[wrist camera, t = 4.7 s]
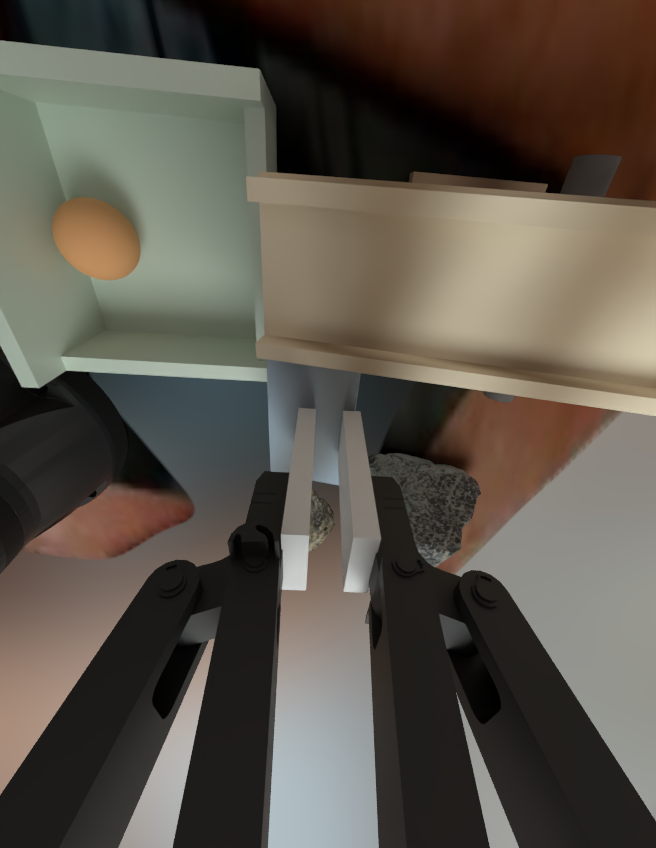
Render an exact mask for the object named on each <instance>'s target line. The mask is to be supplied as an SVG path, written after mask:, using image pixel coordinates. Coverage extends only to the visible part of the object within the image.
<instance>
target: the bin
mask: <svg viewBox="0 0 656 848" xmlns="http://www.w3.org/2000/svg"><path fill="white" fill-rule="evenodd" d="M258 171H262V172H275V173H277V136H276V105H275V103H274V100H273V98H272V96H271V94H270V91H269V89H268V87H267V85H266V82H265V80H264V78H263V75H262V73H261V71H260V69H256V68H247V67H238V66H229V65H220V64H211V63H202V62H192V61H183V60H174V59H165V58H156V57H147V56H138V55H128V54H119V53H110V52H101V51H92V50H83V49H74V48H64V47H55V46H46V45H37V44H28V43H19V42H10V41H0V346H1V348H2V350H3V352H4V354H5V355H6V357H7V359H8V361H9V363H10V365H11V367H12V369H13V371H14V373H15V375H16V377H17V379H18V381H19V382H20V384H21V386H22V387H27V388H40V387H42V386H43V385H45V384H47V383H48V382H50V381H51V380H53V379H54V378H56V377H57V376H59V375H60V374H62V373H63V372H65V371H83V372H101V373H102V372H103V373H119V374H138V375H155V376H174V377H193V378H210V379H228V380H246V381H247V380H248V381H264V382H267V361H266V359H262V358H256V345H255V343H256V342H257V341H258V340H259V339H260V338H261V337H262V336H263V335H265V332H264V306H263V281H262V256H261V230H260V205H259V202H249V201H247V187H246V176H249V177H258ZM78 197H89V198H95V199H98V200H101V201H104V202H106V203H108V204H110V205H111V206H113V207H115V208H116V209H117V210H119V211H120V212H121V213H122V214H123V215H124V216H125V217H126V218H127V219H128V220H129V221H130V223H131V224H132V226H133V227H134V229H135V231H136V233H137V236H138V238H139V242H140V249H141V252H140V259H139V262H138V264H137V266H136V268H135V269H134V270H133V272H131V273H130V274H129V275H127V276H126V277H123V278H121V279H117V280H101V279H96V278H93V277H90V276H88V275H86V274H84V273H82V272H80V271H79V270H77V269H76V268H74V267H73V266H72V265H71V264H70V263H69V262H68V261H67V260H66V259H65V258H64V257H63V256H62V254H61V253H60V251H59V250H58V248H57V246H56V244H55V241H54V238H53V234H52V220H53V216H54V213H55V212H56V210H57V209H58V207H59V206H60V205H61V204H63V203H64V202H66V201H67V200H70V199H73V198H78Z"/></svg>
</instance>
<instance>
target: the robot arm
mask: <svg viewBox="0 0 656 848" xmlns="http://www.w3.org/2000/svg"><path fill="white" fill-rule="evenodd" d="M315 419H316V409H309V408H299V410H298V417H297V424H296V431H295V438H294V445H293V452H292V459H291V466H290V473H289V472H269V471H268V472H267V471H265V472H264V473H263V474H262V475H261V476H260V477H259V478H258V480H257V481H256V484H255V488H254V493H253V496H252V500H251V504H250V507H249V511H248V515H247V519H246V523H245V524H243V525H241V526H239V527H238V528H237V529H236V530H235V531H234V532H233V533H231V536H230V538H229V540H228V546H229V553H230V555H229V556H228V557H226V558H224V559H222V560H220V561H217V562H214V563H211V564H207V565H202V566H199V567H196V566H195V565H194V564H193V563H191V562H189V561H187V560H175V561H171V562H168V563H165V564H164V565H162V566H161V567H159V568H157V569H156V570H155V571H154V572H153V573H152V574H151V575H150V576H149V577H148V579H147V580H146V582H145V583H144V585H143V586H142V588H141V589H140V591H139V592H138V594H137V595H136V596H135V598H134V599H133V601H132V602H131V604H130V605H129V607H128V608H127V610H126V611H125V613H124V614H123V616H122V617H121V618H120V620H119V621H118V623H117V624H116V626H115V627H114V629H113V630H112V632H111V633H110V635H109V636H108V638H107V639H106V641H105V642H104V643H103V645H102V646H101V648H100V650H99V651H98V652H97V654H96V655H95V657H94V658H93V660H92V661H91V663H90V664H89V666H88V667H87V668H86V670H85V671H84V673H83V674H82V676H81V677H80V679H79V680H78V682H77V683H76V685H75V686H74V688H73V689H72V691H71V692H70V693H69V695H68V696H67V698H66V699H65V701H64V702H63V704H62V705H61V707H60V708H59V710H58V711H57V713H56V714H55V716H54V717H53V718H52V720H51V721H50V723H49V724H48V726H47V727H46V729H45V730H44V732H43V733H42V735H41V736H40V738H39V739H38V741H37V742H36V743H35V745H34V746H33V748H32V750H31V751H30V753H29V754H28V755H27V757H26V758H25V760H24V761H23V763H22V764H21V766H20V767H19V768H18V770H17V771H16V773H15V774H14V776H13V777H12V779H11V780H10V782H9V783H8V785H7V786H6V788H5V789H4V791H3V792H2V794H1V795H0V848H118V847H119V844H120V842H121V840H122V838H123V835H124V833H125V831H126V828H127V826H128V824H129V822H130V819H131V817H132V815H133V812H134V810H135V808H136V806H137V803H138V801H139V799H140V796H141V794H142V792H143V790H144V787H145V785H146V783H147V780H148V778H149V776H150V774H151V771H152V769H153V767H154V765H155V762H156V760H157V758H158V755H159V753H160V751H161V749H162V746H163V744H164V742H165V739H166V737H167V735H168V732H169V730H170V728H171V726H172V723H173V721H174V719H175V717H176V714H177V712H178V709H179V707H180V705H181V703H182V701H183V698H184V696H185V694H186V691H187V689H188V687H189V684H190V682H191V680H192V678H193V675H194V673H195V671H196V669H197V666H198V664H199V662H200V660H201V657H202V655H203V653H204V650H205V648H206V646H207V644H208V641H209V640H210V639H214V638H215V641H214V646H213V651H212V656H211V661H210V666H209V671H208V676H207V681H206V686H205V690H204V695H203V700H202V706H201V711H200V715H199V720H198V725H197V730H196V735H195V740H194V745H193V750H192V755H191V760H190V765H189V770H188V774H187V779H186V785H185V789H184V794H183V799H182V804H181V809H180V814H179V819H178V824H177V829H176V834H175V839H174V844H173V848H268V832H269V813H270V795H271V776H272V759H273V740H274V739H273V738H274V722H275V704H276V685H277V667H278V647H279V630H280V612H281V603H280V602H281V592H282V590H306V580H307V563H308V547H309V530H310V512H311V493H312V475H313V456H314V438H315ZM127 453H128V438H127V433H126V429H125V426H124V424H123V421H122V419H121V417H120V415H119V413H118V411H117V409H116V408H115V406H114V405H113V403H112V401H111V400H110V399H109V397H108V396H107V395H106V394H105V393H104V391H103V390H102V389H101V388H100V387H99V386H98V385H97V384H96V383H95V382H94V381H93V380H92V379H91V378H90V377H89V376H88V375H87V374H86V373H85V372H83V371H65V372H63V373H62V374H60V375H59V376H57V377H56V378H54V379H53V380H51V381H50V382H48V383H47V384H45V385H43V386H42V387H40V388H27V387H22V386H21V384H20V382H19V381H18V379H17V377H16V375H15V373H14V371H13V369H12V367H11V365H10V363H9V361H8V359H7V357H6V355H5V354H4V352H3V350H2V348H1V346H0V574H1V573H2V572H3V571H4V569H5V568H6V567H7V566H8V565H9V564H10V562H11V561H12V560H13V559H14V558H15V557H16V556H17V554H18V553H19V552H20V551H21V550H22V549H23V548H24V547H25V546H26V545H27V544H28V543H29V542H30V541H31V540H33V539H34V538H36V537H37V536H39V535H40V534H42V533H43V532H45V531H46V530H48V529H49V528H51V527H52V526H54V525H55V524H57V523H58V522H60V521H61V520H63V519H64V518H65V517H67V516H68V515H69V514H71V513H72V512H73V511H74V510H76V509H77V508H78V507H80V506H83V505H85V504H87V503H88V502H90V501H92V500H93V499H95V498H96V497H97V496H99V495H100V494H101V493H102V492H103V491H104V490H105V489H106V488H107V487H108V486H109V485H110V483H111V482H112V481H113V479H114V478H115V477H116V475H117V474H118V473H119V471H120V470H121V469H122V467H123V465H124V463H125V461H126V458H127ZM338 474H339V497H340V520H341V542H342V543H341V544H342V568H343V591H344V592H367V591H368V588H369V587H370V595H371V601H370V604H369V608H368V611H367V615H366V621H365V623H367V624H369V633H370V655H371V678H372V701H373V723H374V747H375V768H376V769H375V770H376V792H377V814H378V838H379V848H490V846H489V842H488V837H487V833H486V828H485V823H484V819H483V815H482V810H481V805H480V800H479V796H478V791H477V787H476V782H475V777H474V773H473V768H472V764H471V759H470V754H469V750H468V745H467V741H466V736H465V732H464V727H463V722H462V718H461V713H460V709H459V704H458V699H457V695H458V698H459V700H460V703H461V705H462V708H463V710H464V712H465V715H466V718H467V720H468V722H469V725H470V727H471V730H472V732H473V735H474V737H475V740H476V742H477V745H478V747H479V749H480V752H481V754H482V757H483V759H484V762H485V764H486V767H487V769H488V772H489V774H490V777H491V779H492V782H493V784H494V787H495V789H496V791H497V794H498V796H499V799H500V801H501V804H502V806H503V809H504V811H505V814H506V816H507V819H508V821H509V823H510V826H511V828H512V831H513V833H514V836H515V838H516V841H517V843H518V846H519V848H656V821H655V819H654V818H653V816H652V815H651V813H650V812H649V810H648V809H647V807H646V805H645V804H644V802H643V801H642V799H641V798H640V796H639V795H638V793H637V791H636V790H635V788H634V787H633V785H632V784H631V782H630V781H629V779H628V778H627V776H626V774H625V773H624V772H623V770H622V768H621V767H620V765H619V764H618V762H617V760H616V759H615V757H614V756H613V754H612V753H611V751H610V749H609V748H608V746H607V745H606V743H605V742H604V740H603V739H602V737H601V735H600V734H599V732H598V731H597V729H596V728H595V726H594V725H593V723H592V722H591V720H590V718H589V717H588V715H587V714H586V712H585V711H584V709H583V708H582V706H581V704H580V703H579V701H578V700H577V698H576V697H575V695H574V694H573V692H572V690H571V689H570V687H569V686H568V684H567V683H566V681H565V680H564V678H563V677H562V675H561V673H560V672H559V670H558V669H557V667H556V666H555V664H554V662H553V661H552V659H551V658H550V656H549V655H548V653H547V652H546V650H545V649H544V647H543V646H542V644H541V642H540V641H539V639H538V638H537V636H536V635H535V633H534V632H533V630H532V628H531V627H530V625H529V624H528V622H527V620H526V619H525V617H524V616H523V614H522V613H521V611H520V610H519V608H518V606H517V605H516V603H515V602H514V600H513V599H512V597H511V596H510V594H509V593H508V591H507V590H506V589H505V587H504V586H503V585H502V584H501V583H500V581H498V580H497V579H496V578H494V577H493V576H491V575H490V574H487V573H485V572H482V571H474V570H471V571H469V572H466V573H464V574H463V576H462V577H460V576H457V575H454V574H451V573H448V572H445V571H442V570H440V569H438V568H436V567H434V566H432V565H431V564H429V563H428V562H427V561H426V560H425V559H424V558H423V557H422V555H421V554H420V553H419V552H418V549H417V547H416V544H415V540H414V536H413V533H412V529H411V525H410V521H409V517H408V514H407V510H406V506H405V502H404V500H403V499H404V498H403V495H402V491H401V487H400V486H399V485H398V483H397V482H396V481H395V480H394V478H393V477H383V476H371V473H370V467H369V461H368V456H367V450H366V443H365V437H364V431H363V425H362V419H361V412H360V411H343V417H342V426H341V435H340V443H339V452H338ZM456 693H457V695H456Z"/></svg>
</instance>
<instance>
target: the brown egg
mask: <svg viewBox="0 0 656 848" xmlns="http://www.w3.org/2000/svg"><path fill="white" fill-rule="evenodd" d="M52 234H53V238H54V241H55V244H56V246H57V248H58V250H59V251H60V253H61V254H62V256H63V257H64V258H65V259H66V260H67V261H68V262H69V263H70V264H71V265H72V266H73V267H74V268H76V269H77V270H79V271H80V272H82V273H84V274H86V275H88V276H90V277H93V278H96V279H101V280H117V279H121V278H123V277H126V276H127V275H129V274H130V273H131V272H133V270H134V269H135V268H136V266H137V264H138V262H139V259H140V252H141V249H140V242H139V238H138V236H137V233H136V231H135V229H134V227H133V226H132V224H131V223H130V221H129V220H128V219H127V218H126V217H125V216H124V215H123V214H122V213H121V212H120V211H119V210H117V209H116V208H115V207H113V206H111V205H110V204H108V203H106V202H104V201H101V200H98V199H95V198H89V197H78V198H73V199H70V200H67V201H66V202H64V203H63V204H61V205H60V206H59V207H58V209H57V210H56V212H55V213H54V216H53V220H52Z"/></svg>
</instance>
